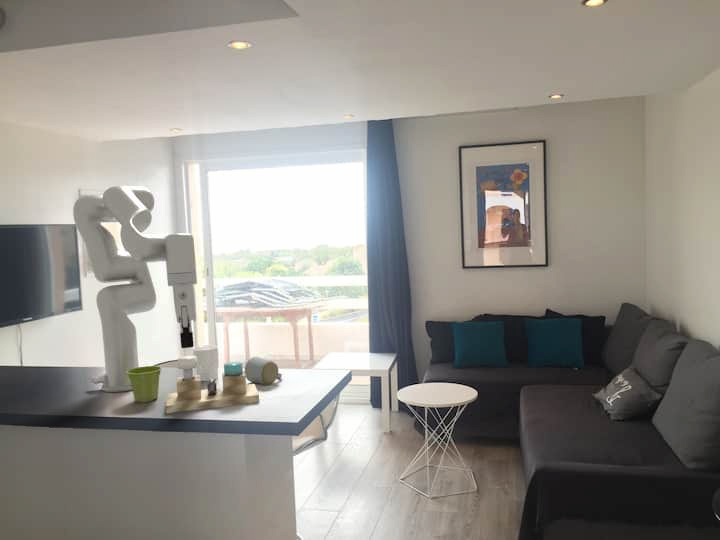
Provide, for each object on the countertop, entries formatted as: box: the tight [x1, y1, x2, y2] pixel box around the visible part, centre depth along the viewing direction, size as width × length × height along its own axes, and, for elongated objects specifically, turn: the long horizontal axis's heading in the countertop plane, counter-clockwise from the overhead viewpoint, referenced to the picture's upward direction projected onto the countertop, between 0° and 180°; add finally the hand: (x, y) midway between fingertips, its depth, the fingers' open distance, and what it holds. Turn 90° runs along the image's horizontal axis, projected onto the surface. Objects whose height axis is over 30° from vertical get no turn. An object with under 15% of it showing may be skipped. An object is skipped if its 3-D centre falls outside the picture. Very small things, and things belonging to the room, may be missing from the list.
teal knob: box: [223, 361, 244, 376], centre depth 160 cm, size 5×5×8 cm
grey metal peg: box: [206, 379, 218, 396], centre depth 159 cm, size 2×2×4 cm
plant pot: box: [126, 365, 163, 403], centre depth 164 cm, size 9×9×9 cm
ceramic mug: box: [244, 356, 283, 385], centre depth 178 cm, size 11×8×8 cm
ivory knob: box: [177, 355, 197, 381], centre depth 157 cm, size 5×5×8 cm
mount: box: [165, 369, 260, 414], centre depth 159 cm, size 24×12×7 cm, turn 106°
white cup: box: [192, 344, 219, 382], centre depth 185 cm, size 8×8×10 cm
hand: (187, 347), depth 156 cm, fingers closed
